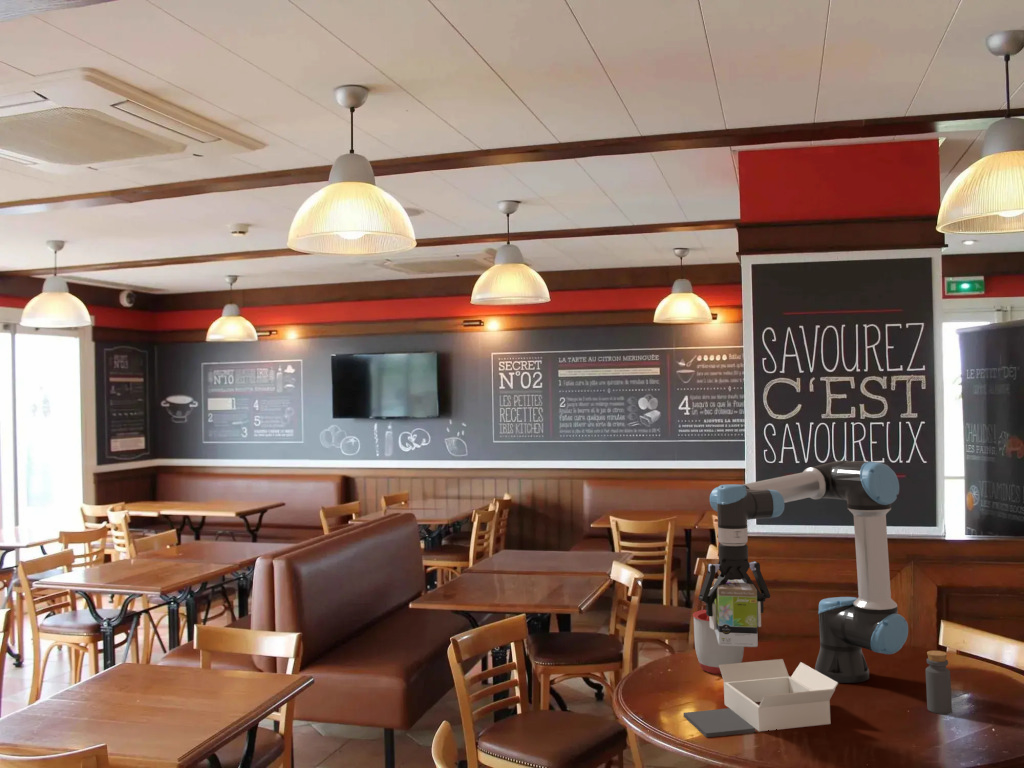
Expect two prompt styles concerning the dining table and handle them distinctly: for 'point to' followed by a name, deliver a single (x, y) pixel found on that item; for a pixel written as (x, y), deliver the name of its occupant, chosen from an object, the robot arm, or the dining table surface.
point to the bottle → (938, 683)
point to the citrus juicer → (712, 646)
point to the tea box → (736, 614)
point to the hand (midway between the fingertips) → (735, 627)
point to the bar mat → (718, 722)
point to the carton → (777, 694)
